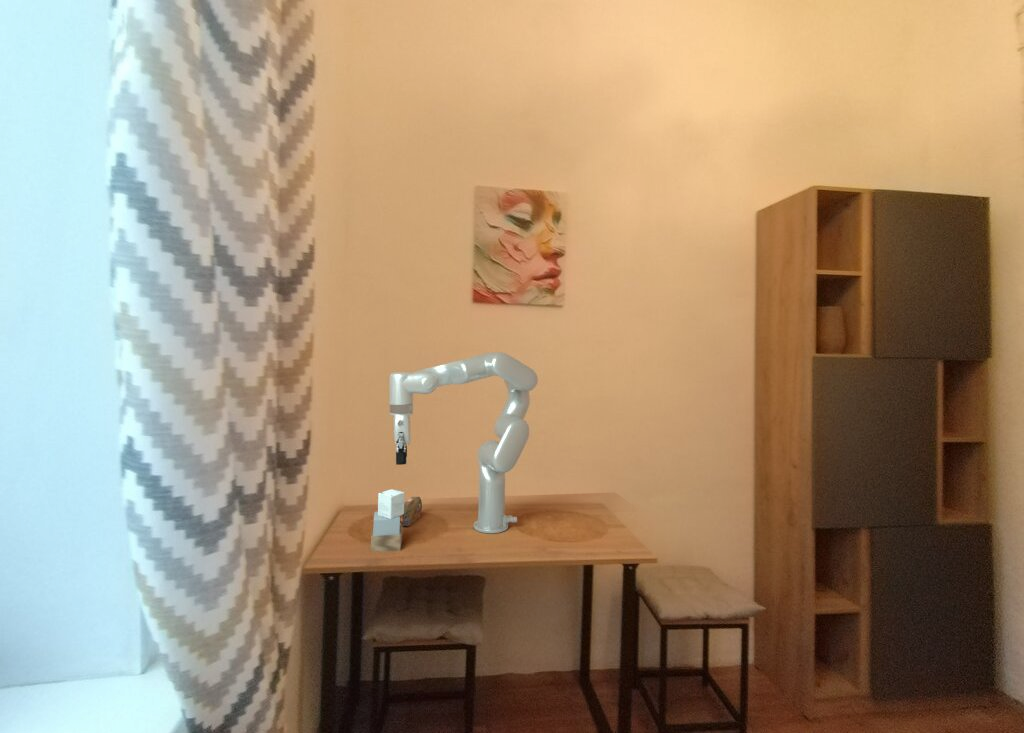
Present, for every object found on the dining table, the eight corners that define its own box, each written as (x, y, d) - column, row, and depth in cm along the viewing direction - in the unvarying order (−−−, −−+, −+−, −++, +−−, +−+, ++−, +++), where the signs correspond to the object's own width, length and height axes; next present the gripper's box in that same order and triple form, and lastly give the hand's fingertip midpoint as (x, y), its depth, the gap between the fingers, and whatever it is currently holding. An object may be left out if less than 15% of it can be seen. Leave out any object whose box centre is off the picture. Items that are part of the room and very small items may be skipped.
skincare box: (404, 514, 146) (405, 492, 146) (390, 519, 141) (391, 496, 140) (391, 510, 149) (391, 488, 149) (377, 515, 144) (377, 492, 144)
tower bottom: (402, 539, 150) (402, 525, 150) (400, 551, 141) (400, 535, 141) (374, 540, 148) (374, 526, 148) (370, 552, 139) (371, 536, 139)
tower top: (398, 525, 149) (399, 510, 149) (399, 534, 142) (399, 518, 142) (374, 526, 147) (374, 511, 147) (373, 536, 140) (373, 520, 139)
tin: (405, 529, 158) (406, 506, 158) (397, 528, 159) (397, 505, 159) (422, 515, 173) (422, 494, 173) (414, 514, 173) (415, 493, 173)
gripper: (412, 412, 140) (413, 466, 140) (413, 406, 156) (413, 454, 157) (388, 413, 138) (388, 467, 138) (391, 406, 155) (391, 455, 155)
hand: (401, 460), depth 148 cm, fingers open, 9 cm apart
